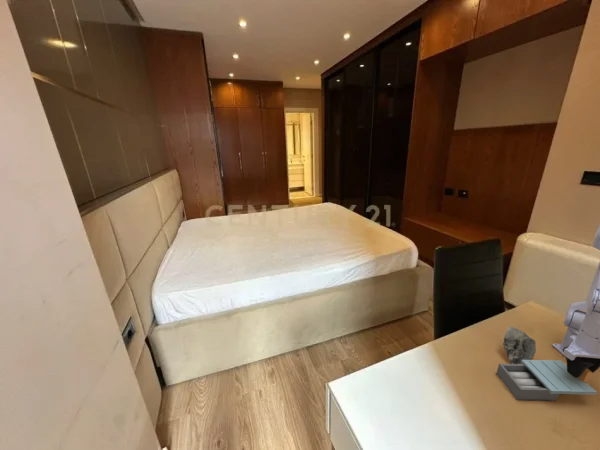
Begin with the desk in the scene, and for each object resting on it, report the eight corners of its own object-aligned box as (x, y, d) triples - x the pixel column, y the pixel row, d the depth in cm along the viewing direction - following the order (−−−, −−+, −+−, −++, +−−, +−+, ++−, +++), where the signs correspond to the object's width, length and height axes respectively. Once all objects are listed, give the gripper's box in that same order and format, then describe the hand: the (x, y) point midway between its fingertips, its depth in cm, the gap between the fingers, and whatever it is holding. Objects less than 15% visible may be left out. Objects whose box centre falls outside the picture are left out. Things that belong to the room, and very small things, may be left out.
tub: (530, 374, 73) (534, 364, 72) (556, 401, 65) (560, 390, 64) (496, 373, 73) (499, 363, 72) (517, 400, 66) (521, 389, 65)
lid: (562, 363, 72) (567, 351, 71) (598, 394, 63) (604, 382, 61) (520, 362, 73) (524, 350, 71) (550, 393, 64) (555, 381, 62)
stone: (540, 341, 72) (512, 318, 81) (508, 358, 74) (485, 333, 84) (553, 359, 74) (524, 334, 84) (522, 375, 77) (497, 349, 86)
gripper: (597, 318, 67) (581, 356, 72) (556, 327, 65) (541, 365, 69) (635, 337, 61) (614, 377, 65) (590, 347, 58) (572, 388, 63)
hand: (579, 372), depth 67 cm, fingers open, 4 cm apart
